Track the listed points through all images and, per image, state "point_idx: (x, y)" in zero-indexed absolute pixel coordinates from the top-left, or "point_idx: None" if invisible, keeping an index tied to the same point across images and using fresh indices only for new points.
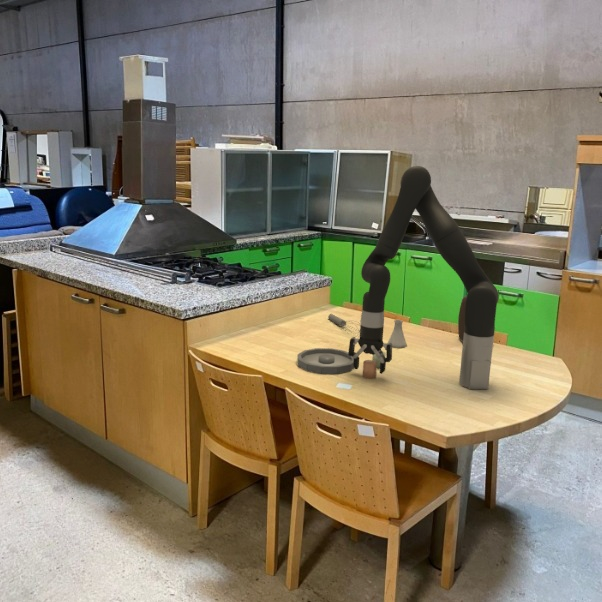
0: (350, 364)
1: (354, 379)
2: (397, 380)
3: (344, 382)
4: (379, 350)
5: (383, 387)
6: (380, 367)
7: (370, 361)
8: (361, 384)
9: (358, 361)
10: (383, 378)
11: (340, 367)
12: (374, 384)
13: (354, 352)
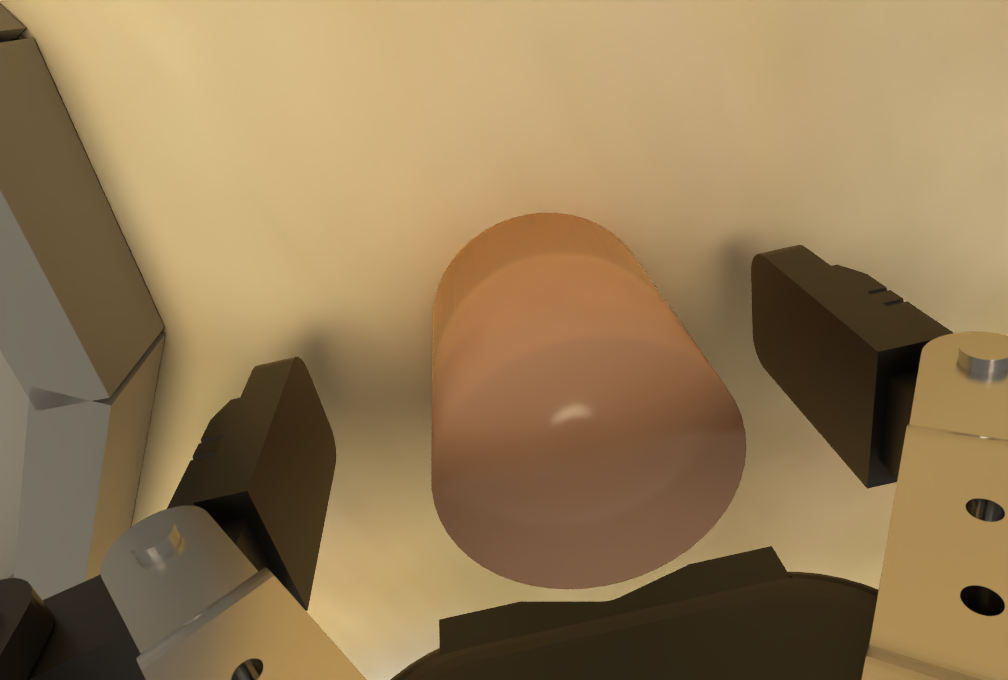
0: (107, 394)
1: (435, 530)
2: (1002, 177)
3: (400, 656)
4: (989, 591)
5: (860, 511)
6: (823, 420)
7: (574, 435)
8: (593, 591)
9: (286, 470)
10: (770, 247)
11: (93, 568)
12: (730, 505)
13: (92, 676)
